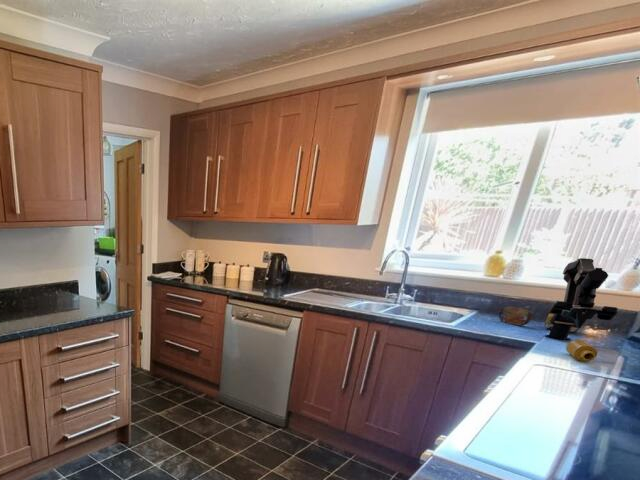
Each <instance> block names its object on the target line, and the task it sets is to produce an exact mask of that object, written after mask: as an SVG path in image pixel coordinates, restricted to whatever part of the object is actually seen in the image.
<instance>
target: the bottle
mask: <svg viewBox="0 0 640 480" xmlns="http://www.w3.org/2000/svg"><path fill="white" fill-rule="evenodd" d="M565 350H566V352H567V353H568V354H569V355H570V356H572V358H574V359H575V360H576V361H579V362H584V363H586V362H590V361H593V360H594V359H595V358H597V355H598V351H597V349H596V347H594V346H592V345H591V344H589V343H588V342H586V341H585V340H582V339H575V340H571V341H569V342H568V343H567V345H566V346H565Z"/></svg>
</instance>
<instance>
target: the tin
mask: <svg viewBox="0 0 640 480" xmlns="http://www.w3.org/2000/svg"><path fill="white" fill-rule="evenodd" d="M532 317H533V314H532V312H531V310H529V309H527V308H526V309H525V308H520V307H516V306H511V305H508V306H505V307H503V308H502V309H500V311H499V314H498V318H499V321H501V322H503V323H505V324H511V325H514V326H526V325H527V324H529V323H530V321H531V319H532Z"/></svg>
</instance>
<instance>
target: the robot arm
mask: <svg viewBox="0 0 640 480" xmlns="http://www.w3.org/2000/svg"><path fill="white" fill-rule="evenodd" d="M594 263H595V259H593V258H586V257H585V258H584V257H579V258H577V260H575V261H572V262H568V263H567V264H566V266H565V267H564V268H563V270H562V275H563V280H564V281H565V282H566V289H565V294H564V298H563V301H561V300H556V301H554V302H553V303H552V304H551V306H550V308H549V309H548V310H549V311H548V314H554V315H553V317H552V318H551V321H550V323H551V324H554V325H553V327H552V329H550V331H549V333H548V334H545V335H544V337H547V338H552V339H555V340H560V341H562V340H563V341H566V340H571V337H569V335H570V333H571V332H570V330H571V328H572V327H577V328H580V327H581V328H582V327H583V325H584V324H585V322H587V320H591V319H593V317H594V316H595V315H596V319H598V320H600V321H611V320H612V319H614V318H615V316H616V315H617V314H618V313H619V308H618V307H617V306H609V305H603V307H602V308H597V307H596V308H595V307H594V306H595V305H596V304H595V298H596V297H597V294H596V293H597V290H598V289H599V288H600V287H601V286H602V285H603V284H604V283H605V282H606V281H607V279H608V277H609V274H608V272H607V271H606V270H603V267H595V265H594ZM555 321H558V322H555ZM563 322H566V323H563ZM571 323H574V324H571ZM581 328H580V329H581Z"/></svg>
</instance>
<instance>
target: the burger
mask: <svg viewBox="0 0 640 480" xmlns="http://www.w3.org/2000/svg"><path fill="white" fill-rule="evenodd" d="M553 315H554V314H550V313H548V316H547V317H546V318H545V321H544V328H546V329H548V330H551V329H552V327H553V325H554V324H551V323H550V321H551V318H552V317H553ZM555 322H558V321H555ZM563 323H566V322H563ZM571 324H574V323H571ZM581 328H582V326H581V327H580V328H577V327H572V328H571V330H570V332H569V333H576V332H578V331H579V330H580V329H581Z"/></svg>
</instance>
